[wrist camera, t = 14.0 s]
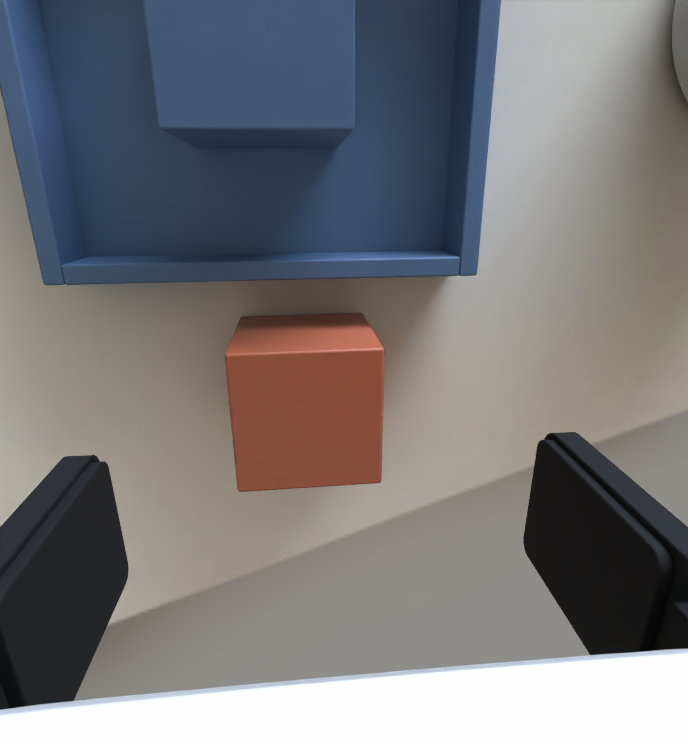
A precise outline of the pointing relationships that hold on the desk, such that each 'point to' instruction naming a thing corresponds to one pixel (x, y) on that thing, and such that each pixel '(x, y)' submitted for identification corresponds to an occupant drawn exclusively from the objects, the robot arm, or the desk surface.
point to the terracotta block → (305, 401)
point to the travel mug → (681, 43)
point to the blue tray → (249, 155)
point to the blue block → (253, 71)
